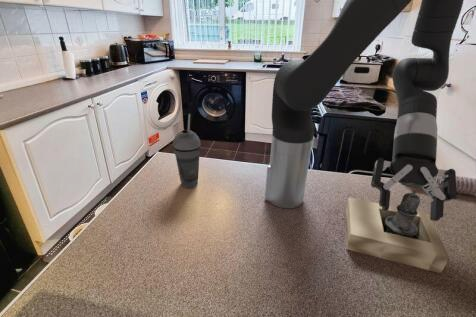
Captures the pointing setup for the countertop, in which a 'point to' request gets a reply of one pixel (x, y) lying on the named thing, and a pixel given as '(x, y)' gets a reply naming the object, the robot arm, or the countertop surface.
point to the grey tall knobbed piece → (404, 217)
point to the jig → (393, 237)
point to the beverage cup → (187, 156)
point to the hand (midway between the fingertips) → (409, 214)
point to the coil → (461, 185)
